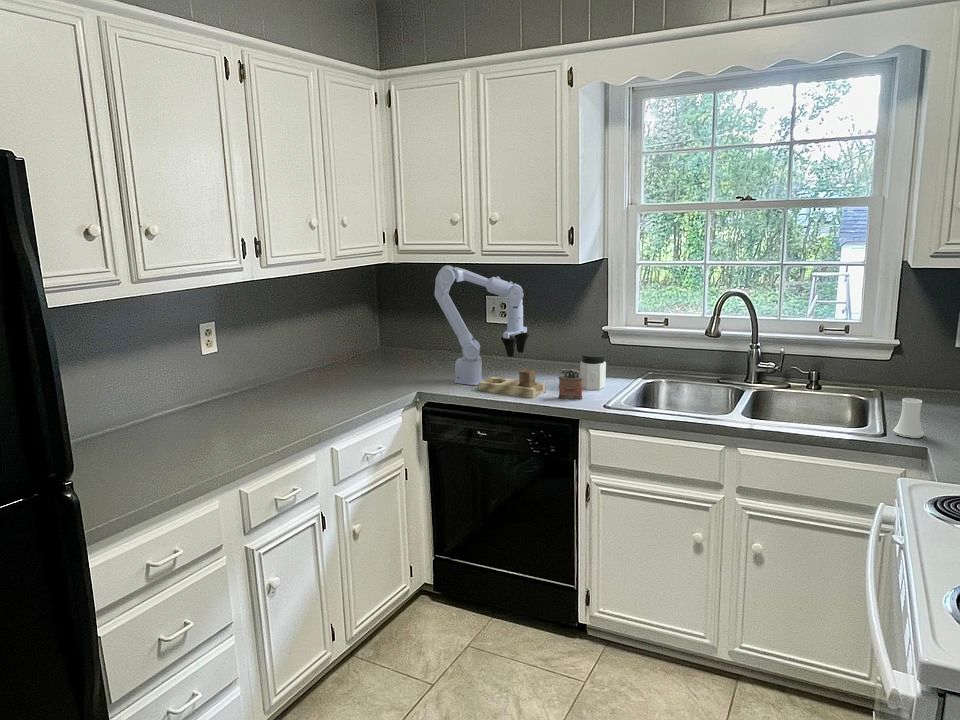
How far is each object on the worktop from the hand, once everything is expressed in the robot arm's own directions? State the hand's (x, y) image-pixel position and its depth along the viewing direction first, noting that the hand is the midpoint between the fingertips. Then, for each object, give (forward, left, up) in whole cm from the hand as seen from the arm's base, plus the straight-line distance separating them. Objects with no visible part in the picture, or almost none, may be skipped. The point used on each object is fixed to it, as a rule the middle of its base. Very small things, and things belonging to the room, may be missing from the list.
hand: (515, 354), depth 269 cm
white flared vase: (+126, -2, -11) cm, 126 cm away
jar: (+28, +6, -11) cm, 31 cm away
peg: (+11, -12, -10) cm, 19 cm away
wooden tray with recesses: (+5, -12, -10) cm, 17 cm away
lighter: (+27, -11, -11) cm, 31 cm away
